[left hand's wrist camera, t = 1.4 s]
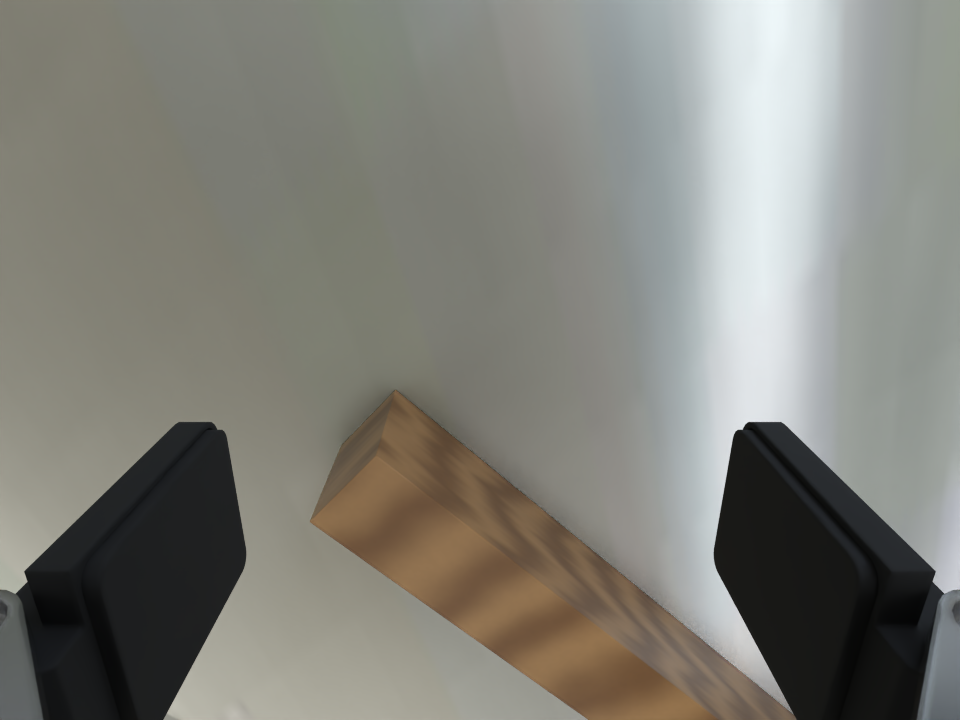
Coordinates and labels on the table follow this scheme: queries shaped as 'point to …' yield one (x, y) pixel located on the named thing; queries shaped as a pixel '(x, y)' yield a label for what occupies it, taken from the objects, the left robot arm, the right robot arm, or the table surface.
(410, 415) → the bar
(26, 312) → the table surface
